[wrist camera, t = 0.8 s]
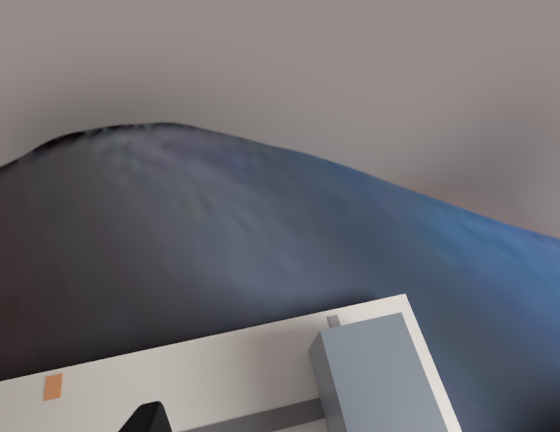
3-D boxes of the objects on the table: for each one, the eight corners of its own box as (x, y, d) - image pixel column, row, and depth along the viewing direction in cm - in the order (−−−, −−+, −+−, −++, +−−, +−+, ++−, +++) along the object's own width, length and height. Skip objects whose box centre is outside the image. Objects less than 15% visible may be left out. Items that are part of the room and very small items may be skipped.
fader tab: (413, 453, 18) (461, 463, 14) (339, 474, 17) (363, 492, 13) (373, 334, 21) (401, 312, 16) (308, 349, 20) (319, 330, 16)
